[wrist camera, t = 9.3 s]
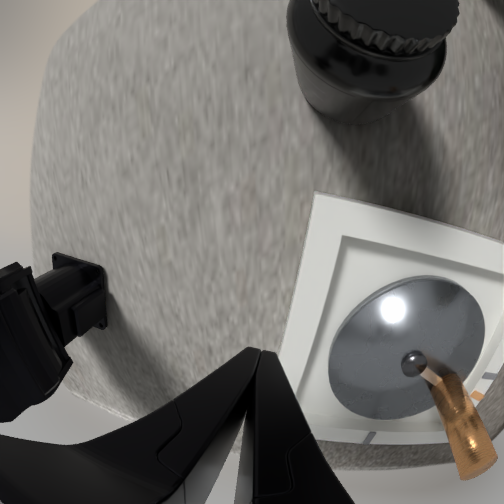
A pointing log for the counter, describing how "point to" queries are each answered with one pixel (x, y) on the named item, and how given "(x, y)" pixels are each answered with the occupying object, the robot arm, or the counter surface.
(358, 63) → the supplement bottle
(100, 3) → the counter surface
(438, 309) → the dial
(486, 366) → the dial housing
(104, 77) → the counter surface
